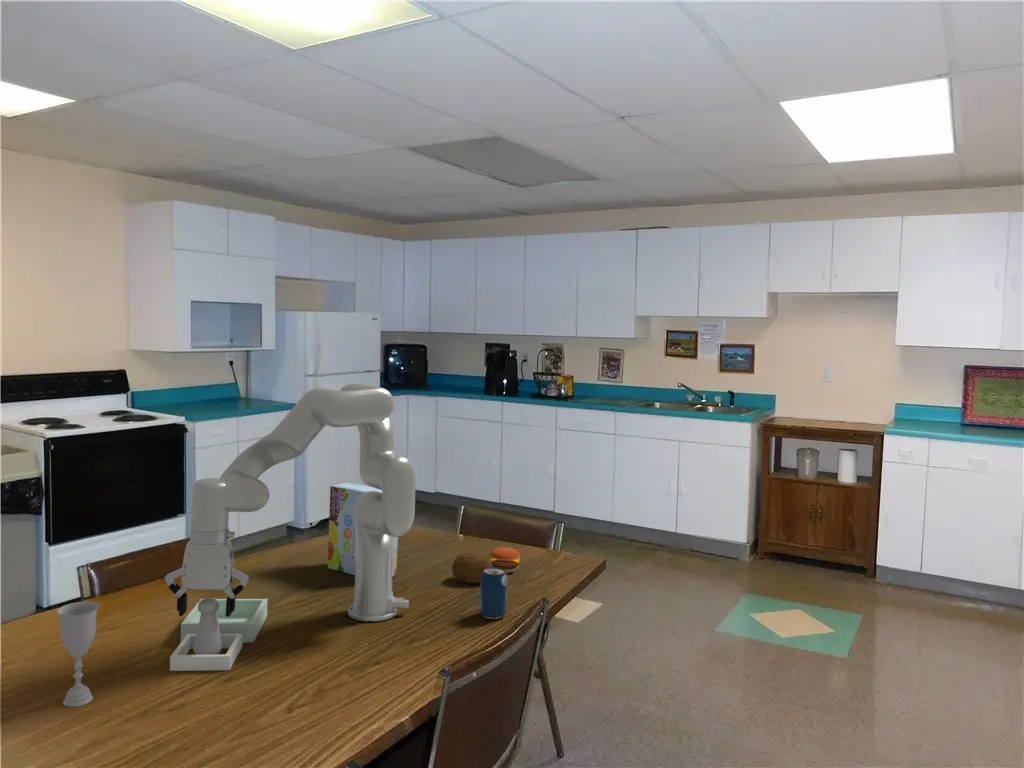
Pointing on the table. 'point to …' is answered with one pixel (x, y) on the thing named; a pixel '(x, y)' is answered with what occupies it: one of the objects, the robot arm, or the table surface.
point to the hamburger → (505, 558)
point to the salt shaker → (208, 629)
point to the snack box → (347, 528)
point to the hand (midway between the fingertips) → (205, 614)
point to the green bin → (232, 619)
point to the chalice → (78, 644)
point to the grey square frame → (205, 662)
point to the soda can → (493, 592)
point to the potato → (469, 567)
